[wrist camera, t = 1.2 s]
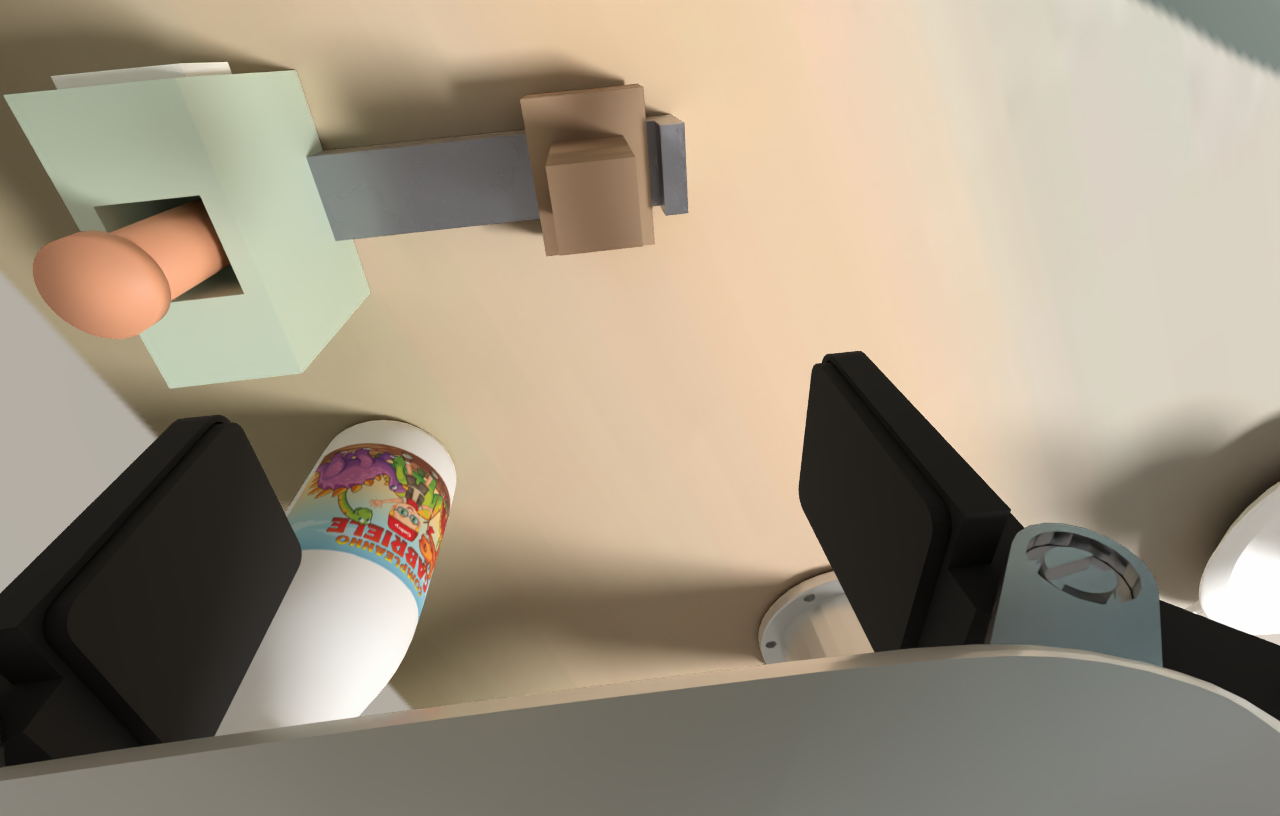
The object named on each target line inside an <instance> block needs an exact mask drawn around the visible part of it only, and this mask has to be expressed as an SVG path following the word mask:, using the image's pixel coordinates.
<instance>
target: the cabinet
mask: <svg viewBox="0 0 1280 816" xmlns="http://www.w3.org/2000/svg"><path fill="white" fill-rule="evenodd" d="M51 78H52V80H53V82H54V84H55V86H56V88H57V90H48V91H38V92H28V93H18V94H8V95H3V96H4V98H5V100H6V101H7V103H8V105H9V107H10V108H11V110H12V112H13V114H14V115H15V117H16V119H17V121H18V122H19V124H20V126H21V128H22V130H23V131H24V133H25V135H26V137H27V138H28V140H29V142H30V144H31V145H32V147H33V149H34V151H35V152H36V154H37V156H38V158H39V159H40V161H41V163H42V165H43V166H44V168H45V170H46V172H47V173H48V175H49V177H50V179H51V180H52V182H53V184H54V186H55V188H56V189H57V191H58V193H59V195H60V196H61V198H62V200H63V202H64V203H65V205H66V207H67V209H68V210H69V212H70V214H71V216H72V217H73V219H74V221H75V223H76V224H77V226H78V228H79V230H80V231H91V230H94V231H103V232H108V233H110V232H113V231H116V230H118V229H121V228H123V227H126V226H128V225H131V224H134V223H136V222H139V221H141V220H144V219H146V218H149V217H152V216H154V215H157V214H159V213H162V212H164V211H167V210H170V209H172V208H175V207H177V206H180V205H182V204H185V203H188V202H190V201H193V200H195V199H198V198H201V199H202V201H203V203H204V206H205V208H206V210H207V212H208V214H209V217H210V219H211V221H212V223H213V226H214V228H215V230H216V232H217V234H218V237H219V239H220V241H221V243H222V245H223V248H224V250H225V252H226V254H227V257H228V259H229V261H230V263H231V264H230V265H228V266H227V267H225V268H223V269H222V270H220V271H219V272H217V273H215V274H214V275H212V276H210V277H209V278H207V279H206V280H204V281H202V282H201V283H199V284H197V285H196V286H194V287H193V288H191V289H189V290H188V291H186V292H184V293H183V294H181V295H180V296H178V297H176V298H175V299H173V300H172V301H171V303H170V307H169V310H168V312H167V313H166V315H165V316H164V317H163V318H162V319H161V320H160V321H158V322H157V323H155V324H154V325H152V326H151V327H149V328H148V329H146V330H145V331H143V332H142V333H140V334H139V335H140V337H141V339H142V340H143V342H144V344H145V346H146V348H147V349H148V351H149V353H150V355H151V356H152V358H153V360H154V362H155V363H156V365H157V367H158V369H159V370H160V372H161V374H162V376H163V377H164V379H165V381H166V383H167V384H168V386H169V388H170V389H172V388H180V387H189V386H197V385H206V384H214V383H223V382H231V381H240V380H248V379H257V378H265V377H274V376H282V375H291V374H299V373H303V372H304V371H305V369H306V368H307V367H308V366H309V365H310V363H311V362H312V361H313V360H314V359H315V358H316V356H317V355H318V354H319V353H320V352H321V350H322V349H323V348H324V347H325V346H326V345H327V343H328V342H329V341H330V340H331V339H332V338H333V336H334V335H335V334H336V333H337V332H338V330H339V329H340V328H341V327H342V326H343V325H344V323H345V322H346V321H347V320H348V319H349V318H350V316H351V315H352V314H353V313H354V312H355V310H356V309H357V308H358V307H359V306H360V305H361V303H362V302H363V301H364V300H365V299H366V297H367V296H368V295H369V294H370V293H371V292H370V289H369V286H368V283H367V280H366V277H365V274H364V271H363V268H362V265H361V262H360V259H359V256H358V253H357V250H356V247H355V244H354V241H353V239H351V240H342V241H335V238H334V235H333V232H332V230H331V227H330V224H329V221H328V218H327V215H326V212H325V210H324V207H323V204H322V201H321V198H320V195H319V193H318V190H317V187H316V184H315V181H314V178H313V175H312V173H311V170H310V167H309V164H308V161H307V158H306V157H308V156H310V155H313V154H315V153H318V152H320V151H323V149H322V146H321V143H320V140H319V137H318V134H317V131H316V128H315V125H314V122H313V119H312V116H311V113H310V110H309V107H308V104H307V101H306V98H305V95H304V92H303V89H302V86H301V83H300V80H299V77H298V74H297V71H296V70H289V71H274V72H259V73H243V74H232V72H231V70H230V67H229V64H228V62H209V63H179V64H168V65H158V66H148V67H138V68H128V69H118V70H107V71H97V72H87V73H77V74H67V75H57V76H51Z"/></svg>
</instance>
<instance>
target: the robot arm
mask: <svg viewBox="0 0 1280 816" xmlns="http://www.w3.org/2000/svg"><path fill="white" fill-rule="evenodd" d="M799 498H800V503H801V506H802V508H803V511H804V513H805V515H806V517H807V519H808V521H809V523H810V525H811V527H812V529H813V531H814V533H815V535H816V537H817V539H818V541H819V543H820V545H821V547H822V549H823V551H824V553H825V555H826V557H827V559H828V561H829V563H830V565H831V567H832V569H833V571H832V572H828V573H824V574H821V575H818V576H815V577H813V578H810V579H808V580H806V581H803V582H802V583H800V584H798V585H796V586H795V587H793V588H791V589H790V590H789V591H787V592H786V593H785V594H783V595H782V596H781V597H780V598H779V599H778V600H777V601H776V602H775V603H774V604H773V605H772V606H771V607H770V608H769V610H768V611H767V613H766V614H765V616H764V617H763V619H762V622H761V625H760V627H759V633H758V642H759V647H760V650H761V653H762V656H763V659H764V661H765V663H766V665H758V666H750V667H742V668H734V669H726V670H718V671H710V672H702V673H694V674H686V675H678V676H670V677H662V678H654V679H646V680H639V681H631V682H623V683H615V684H607V685H599V686H591V687H583V688H575V689H568V690H560V691H552V692H544V693H537V694H529V695H521V696H514V697H506V698H498V699H491V700H483V701H475V702H468V703H460V704H452V705H445V706H437V707H430V708H422V709H414V710H407V711H399V712H392V713H384V714H377V715H369V716H361V717H354V718H346V719H339V720H331V721H324V722H317V723H309V724H302V725H295V726H287V727H280V728H272V729H265V730H258V731H250V732H243V733H236V734H228V735H221V736H215V734H216V732H217V730H218V728H219V726H220V724H221V722H222V720H223V718H224V716H225V714H226V712H227V710H228V708H229V706H230V704H231V702H232V700H233V698H234V696H235V694H236V692H237V690H238V688H239V686H240V684H241V682H242V680H243V678H244V676H245V674H246V672H247V670H248V668H249V666H250V664H251V662H252V660H253V658H254V656H255V654H256V652H257V650H258V648H259V646H260V644H261V642H262V640H263V638H264V636H265V634H266V632H267V630H268V628H269V626H270V624H271V623H272V621H273V619H274V617H275V615H276V613H277V611H278V609H279V607H280V605H281V603H282V601H283V599H284V597H285V595H286V593H287V591H288V589H289V587H290V585H291V583H292V581H293V579H294V577H295V575H296V573H297V571H298V569H299V566H300V564H301V559H302V550H301V546H300V543H299V541H298V539H297V537H296V535H295V533H294V531H293V529H292V527H291V525H290V523H289V521H288V519H287V517H286V515H285V513H284V511H283V509H282V507H281V505H280V503H279V501H278V499H277V497H276V495H275V493H274V491H273V489H272V487H271V485H270V483H269V481H268V479H267V476H266V474H265V472H264V470H263V468H262V466H261V464H260V462H259V460H258V458H257V456H256V454H255V452H254V450H253V448H252V446H251V444H250V442H249V440H248V438H247V436H246V434H245V432H244V431H243V429H242V428H241V426H239V425H238V424H237V423H231V422H230V421H229V420H228V419H227V418H226V417H224V416H221V415H213V416H203V417H193V418H184V419H178V420H177V421H175V422H174V423H172V424H171V425H170V426H169V427H168V428H167V429H166V430H165V431H164V432H163V433H162V434H161V435H160V436H159V437H158V438H157V439H156V440H155V441H154V442H153V443H152V444H151V445H150V446H149V447H148V448H147V449H146V450H145V451H144V452H143V453H142V454H141V455H140V456H139V457H138V458H137V459H136V460H135V461H134V462H133V463H132V464H131V465H130V466H129V467H128V468H127V469H126V470H125V471H124V472H123V473H122V474H121V475H120V476H119V477H118V478H117V479H116V480H115V481H114V482H113V483H112V484H111V485H110V486H109V487H108V488H107V489H106V490H105V491H104V492H103V493H102V494H101V495H100V496H99V497H98V498H97V499H95V501H94V502H92V503H91V504H90V506H88V507H87V508H86V509H85V511H83V512H82V513H81V514H80V515H79V516H78V517H77V518H76V519H75V520H74V521H73V522H72V523H71V524H70V525H69V526H68V527H67V528H66V529H65V530H64V531H63V532H62V533H61V534H60V535H59V536H58V537H57V538H56V539H55V540H54V541H53V542H52V543H51V544H50V545H49V546H48V547H47V548H46V549H45V550H44V551H43V552H42V553H41V554H40V555H39V556H38V557H37V558H36V559H35V560H34V561H33V562H32V563H31V564H30V565H29V566H28V567H27V568H26V569H25V570H24V571H23V572H22V573H21V574H20V575H19V576H18V577H17V578H15V580H13V581H12V583H10V584H9V585H8V586H7V587H6V588H5V590H3V591H2V592H1V593H0V816H1280V646H1279V645H1277V644H1274V643H1271V642H1269V641H1266V640H1264V639H1261V638H1258V637H1256V636H1253V635H1250V634H1248V633H1245V632H1243V631H1240V630H1237V629H1235V628H1232V627H1229V626H1227V625H1224V624H1222V623H1219V622H1216V621H1214V620H1211V619H1208V618H1206V617H1203V616H1200V615H1198V614H1195V613H1193V612H1190V611H1187V610H1185V609H1182V608H1179V607H1177V606H1174V605H1172V604H1169V603H1166V602H1164V601H1161V600H1159V590H1158V587H1157V583H1156V580H1155V577H1154V575H1153V574H1152V573H1151V571H1150V570H1149V569H1148V568H1147V566H1146V565H1145V564H1144V562H1143V561H1142V560H1140V559H1139V558H1138V557H1137V556H1136V555H1134V554H1133V553H1132V552H1131V551H1129V550H1128V549H1127V548H1126V547H1124V546H1122V545H1120V544H1118V543H1117V542H1115V541H1113V540H1111V539H1110V538H1108V537H1106V536H1104V535H1101V534H1098V533H1096V532H1093V531H1091V530H1088V529H1085V528H1081V527H1077V526H1072V525H1068V524H1061V523H1041V524H1036V525H1030V526H1028V527H1026V528H1024V527H1023V526H1022V525H1021V524H1020V523H1019V522H1018V520H1017V519H1016V518H1015V517H1014V516H1013V515H1012V514H1011V513H1010V511H1011V509H1010V508H1009V507H1008V506H1007V505H1006V504H1005V503H1004V502H1003V501H1002V500H1001V498H1000V497H999V496H998V495H997V494H996V493H995V492H994V491H993V490H992V489H991V488H990V487H989V486H988V485H987V484H986V482H985V481H984V480H983V479H982V478H981V477H980V476H979V475H978V474H977V473H976V472H975V471H974V470H973V469H972V468H971V466H970V465H969V464H968V463H967V462H966V461H965V460H964V459H963V458H962V457H961V456H960V455H959V454H958V453H957V452H956V450H955V449H954V448H953V447H952V446H951V445H950V444H949V443H948V442H947V441H946V440H945V439H944V438H943V437H942V436H941V435H940V433H939V432H938V431H937V430H936V429H935V428H934V427H933V426H932V425H931V424H930V423H929V422H928V421H927V420H926V419H925V417H924V416H923V415H922V414H921V413H920V412H919V411H918V410H917V409H916V408H915V407H914V406H913V405H912V404H911V403H910V401H909V400H908V399H907V398H906V397H905V396H904V395H903V394H902V393H901V392H900V391H899V390H898V389H897V388H896V387H895V386H894V384H893V383H892V382H891V381H890V380H889V379H888V378H887V377H886V376H885V375H884V374H883V373H882V372H881V371H880V370H879V368H878V367H877V366H876V365H875V364H874V363H873V362H872V361H871V360H870V359H869V358H868V357H867V356H866V355H865V354H864V353H863V352H862V351H854V352H844V353H834V354H827V355H825V356H824V358H823V360H822V363H819V364H815V365H814V366H813V369H812V373H811V382H810V391H809V400H808V409H807V418H806V427H805V435H804V444H803V453H802V462H801V471H800V480H799Z"/></svg>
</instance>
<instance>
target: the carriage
mask: <svg viewBox="0 0 1280 816" xmlns="http://www.w3.org/2000/svg"><path fill="white" fill-rule="evenodd" d="M520 103H521V109H522V115H523V121H524V127H525V133H526V139H527V145H528V151H529V156H530V162H531V168H532V174H533V180H534V186H535V192H536V198H537V204H538V210H539V216H540V221H541V227H542V233H543V239H544V245H545V251H546V256H554V255H569V254H578V253H587V252H596V251H605V250H614V249H623V248H632V247H641V246H643V245H652V244H655V241H654V227H653V213H652V199H651V186H650V172H649V158H648V144H647V131H646V117H645V103H644V89H643V87H642V86H640V85H638V84H631V85H621V86H611V87H602V88H592V89H582V90H572V91H562V92H553V93H543V94H533V95H525V96H524V97H522V98H521V99H520Z"/></svg>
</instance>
